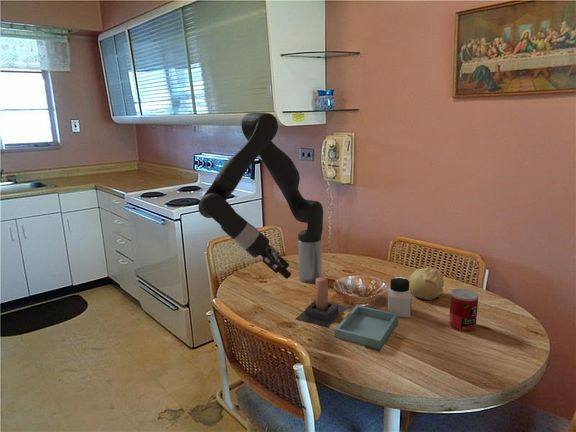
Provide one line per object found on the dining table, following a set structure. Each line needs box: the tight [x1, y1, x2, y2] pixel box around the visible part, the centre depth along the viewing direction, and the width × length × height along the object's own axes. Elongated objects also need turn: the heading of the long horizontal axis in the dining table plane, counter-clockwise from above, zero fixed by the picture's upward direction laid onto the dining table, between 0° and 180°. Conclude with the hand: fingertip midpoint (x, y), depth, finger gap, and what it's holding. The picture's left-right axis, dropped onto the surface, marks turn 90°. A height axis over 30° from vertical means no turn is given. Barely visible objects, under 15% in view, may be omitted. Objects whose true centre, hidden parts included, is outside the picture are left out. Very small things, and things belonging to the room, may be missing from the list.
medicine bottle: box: [387, 276, 412, 318], centre depth 137 cm, size 7×7×12 cm
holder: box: [294, 299, 348, 329], centre depth 138 cm, size 16×12×4 cm
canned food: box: [448, 288, 479, 332], centre depth 128 cm, size 8×8×11 cm
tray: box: [333, 304, 399, 353], centre depth 127 cm, size 18×14×4 cm
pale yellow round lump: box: [408, 266, 445, 301], centre depth 149 cm, size 12×12×11 cm
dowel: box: [315, 276, 329, 311], centre depth 137 cm, size 4×4×12 cm
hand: (288, 271), depth 134 cm, fingers open, 8 cm apart
